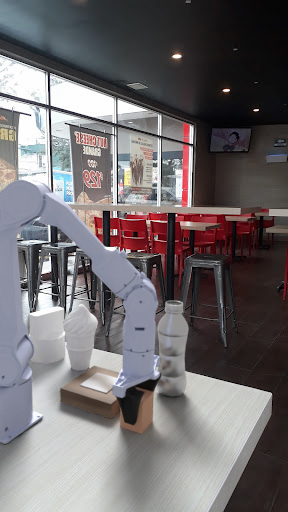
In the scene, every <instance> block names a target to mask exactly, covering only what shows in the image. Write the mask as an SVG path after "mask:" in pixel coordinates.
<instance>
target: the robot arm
mask: <svg viewBox="0 0 288 512" xmlns="http://www.w3.org/2000/svg"><path fill="white" fill-rule="evenodd" d="M37 219H38V221H37V222H38V223H40V224H44V225H48V226H53V227H57V229H59V230H60V231H61V232H62V233H63V234H64V235H66V236H67V237H68V238H69V239H70V240H71V241H72V242H73V244H74V245H76V246H77V247H78V248H79V249H81V251H82V252H83V253H84V254H85V255H86V256H87V257H88V258H90V260H91V271H92V272H93V273H94V274H95V275H96V276H97V277H98V278H99V279H100V281H102V283H103V284H105V285H106V286H107V287H108V288H109V290H110V291H111V292H112V293H113V294H114V295H115V296H116V297H118V298H120V299H122V300H123V301H122V304H123V309H124V310H125V314H124V315H125V318H124V320H123V327H122V328H123V332H122V333H123V334H122V338H123V339H122V366H121V369H120V371H119V376H118V378H117V380H116V382H115V383H114V384H113V388H112V391H113V395H114V396H116V398H117V400H118V402H119V404H120V407H121V411H122V415H123V419H124V422H125V423H128V424H131V425H135V424H136V421H137V417H138V409H139V405H140V401H141V399H142V397H143V395H144V393H145V392H144V391H141V390H137V389H136V388H137V387H138V388H142V389H145V390H149V391H152V392H154V393H155V389H157V386H156V385H157V383H158V381H159V380H160V378H161V373H160V372H158V370H157V368H158V366H159V364H160V356H159V355H156V354H155V351H156V349H155V348H156V347H155V345H156V327H157V326H156V325H157V324H156V321H155V319H156V312H157V309H158V306H159V301H158V295H157V292H156V288H155V285H154V284H153V283H152V280H151V279H149V278H148V277H147V275H146V274H145V273H144V272H143V271H141V272H140V271H138V269H137V268H136V267H135V266H134V265H133V264H132V263H131V262H130V261H129V260H128V253H127V252H125V250H124V249H121V251H120V250H119V249H118V248H117V247H115V246H114V247H111V246H110V247H109V246H108V247H107V246H105V245H104V244H103V243H102V241H100V239H99V238H98V237H97V236H96V234H94V232H93V231H92V230H91V229H90V228H89V227H88V225H86V223H85V222H84V221H83V220H82V219H81V218H80V216H79V215H77V213H76V212H75V211H74V210H73V208H71V206H70V205H69V204H68V203H67V202H66V201H65V200H64V199H63V198H62V197H61V196H60V195H59V194H57V193H56V192H53V191H52V189H51V188H50V187H49V186H48V185H47V184H46V183H45V182H42V181H39V180H32V181H31V180H30V181H29V180H27V179H16V180H14V181H12V182H10V183H9V184H8V185H7V186H5V187H4V188H3V189H1V190H0V443H1V444H8V443H10V442H11V441H13V440H14V439H15V438H16V437H18V436H20V435H21V434H22V433H24V432H26V430H27V429H29V428H30V427H32V426H33V425H35V424H36V423H37V422H39V421H40V420H41V419H43V418H44V415H43V413H39V412H37V411H35V410H34V408H33V406H34V405H33V371H32V368H31V367H30V363H29V361H31V360H30V359H31V358H32V357H33V354H34V344H33V342H32V340H31V339H30V337H29V334H30V333H29V329H28V328H29V327H28V326H27V324H26V323H25V321H24V313H23V300H22V298H23V297H22V287H21V276H20V261H19V260H20V259H19V248H18V247H19V246H18V235H20V233H22V232H23V230H24V229H25V228H26V227H28V225H30V223H31V222H33V221H35V220H37Z"/></svg>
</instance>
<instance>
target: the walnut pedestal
mask: <svg viewBox="0 0 288 512" xmlns="http://www.w3.org/2000/svg"><path fill="white" fill-rule="evenodd" d="M119 373H120V371H117V370H116V371H115V370H111V369H107V368H104V367H101V366H96V365H93V366H91V367H89V368H88V369H86V370H84V371H83V372H82V373H80V374H79V375H77V377H74V378H73V379H72V380H70V381H68V382H67V383H66V384H64V385H63V386H61V387H60V389H59V395H60V397H59V398H60V399H59V400H60V402H61V403H62V404H63V403H64V405H65V404H66V405H68V406H71V407H74V408H77V409H80V410H84V411H87V412H90V413H92V414H95V415H98V416H102V417H105V418H108V419H112V418H113V417H115V415H116V414H118V413H119V412H120V404H119V402H118V400H117V398H116V396H114V395H113V391H112V388H113V384H114V383H115V382H116V380H117V378H118V376H119Z"/></svg>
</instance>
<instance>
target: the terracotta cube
mask: <svg viewBox="0 0 288 512" xmlns="http://www.w3.org/2000/svg"><path fill="white" fill-rule="evenodd" d="M136 389H137V390H141V391H144V392H145V393H144V395H143V397H142V399H141V401H140V405H139V409H138V417H137V421H136V424H135V425H131V424H128V423H125V422H124V419H123V415H122V411H121V407H120V411H119V412H120V413H119V427H120V428H122V429H126V430H129V431H132V432H136V433H137V434H140V435H142V434H143V433H144V432H145V431H146V430H147V428H149V426H150V425H151V424H152V423H153V422H154V421H153V419H154V397H155V396H154V393H155V391H154V392H152V391H149V390H145V389H142V388H138V387H137V388H136Z"/></svg>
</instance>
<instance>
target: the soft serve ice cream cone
mask: <svg viewBox="0 0 288 512" xmlns="http://www.w3.org/2000/svg"><path fill="white" fill-rule="evenodd" d="M63 324H64V325H63V327H64V331H65V349H67V354H68V359H69V364H70V368H71V369H72V370H73V371H77V372H79V371H80V372H81V371H87V370H88V369H90V363H91V360H92V359H91V358H92V354H93V349H94V348H95V335H96V330H97V328H98V325H99V321H98V318H97V317H96V316H95V315H94V314H93V313H91V312H90V310H89V309H88V308H87V307H86V305H84V304H81V303H80V304H79V305H78V306H77V308H76V309H74V310H72V311H71V312H69V313H68V314H67V315H66V316H64V321H63Z"/></svg>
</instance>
